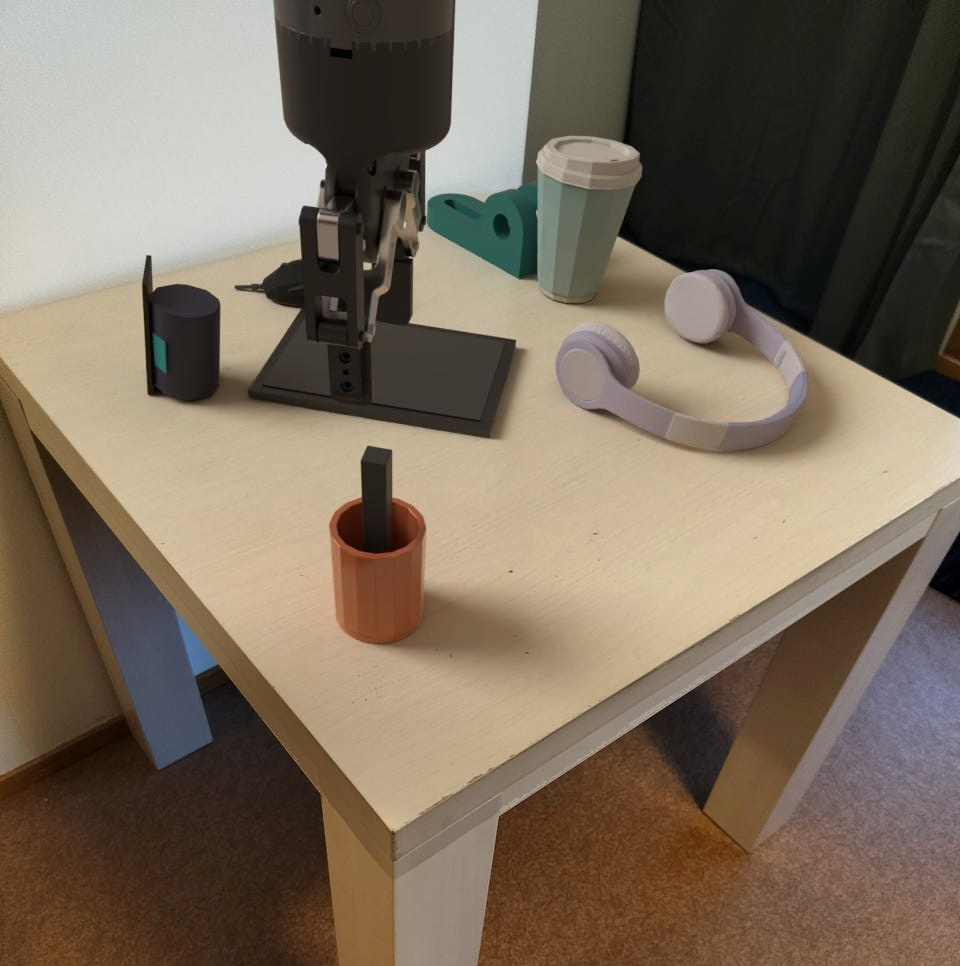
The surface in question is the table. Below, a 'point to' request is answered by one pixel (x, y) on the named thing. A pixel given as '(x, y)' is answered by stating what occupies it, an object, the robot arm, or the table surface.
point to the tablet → (399, 376)
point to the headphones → (699, 318)
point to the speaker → (181, 338)
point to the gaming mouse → (286, 285)
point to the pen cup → (378, 574)
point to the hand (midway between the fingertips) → (374, 358)
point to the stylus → (377, 500)
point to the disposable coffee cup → (581, 211)
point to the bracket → (492, 226)
